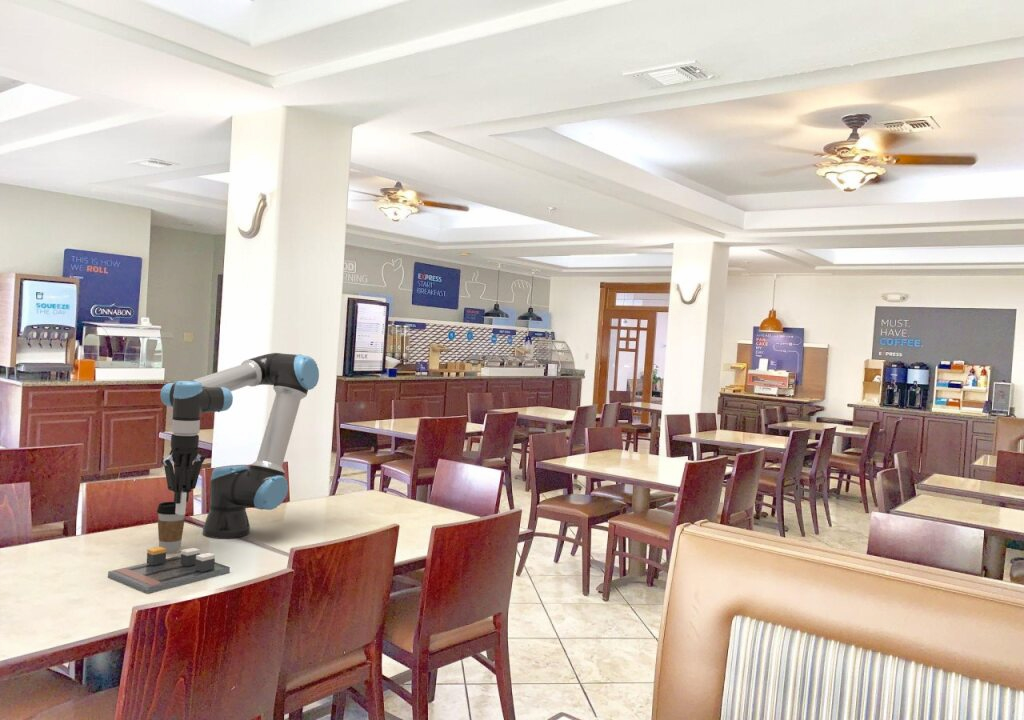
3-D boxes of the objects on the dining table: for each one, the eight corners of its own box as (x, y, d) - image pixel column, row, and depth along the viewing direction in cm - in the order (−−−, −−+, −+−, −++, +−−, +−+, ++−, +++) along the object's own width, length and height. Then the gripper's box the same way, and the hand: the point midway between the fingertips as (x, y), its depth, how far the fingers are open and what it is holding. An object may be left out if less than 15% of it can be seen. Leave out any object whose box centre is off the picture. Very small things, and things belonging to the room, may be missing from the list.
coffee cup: (173, 556, 232) (175, 507, 232) (148, 552, 234) (151, 504, 233) (190, 549, 240) (192, 501, 240) (166, 545, 242) (168, 498, 242)
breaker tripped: (159, 560, 221) (160, 546, 221) (165, 562, 220) (166, 548, 220) (146, 563, 218) (147, 549, 218) (152, 565, 216) (153, 551, 216)
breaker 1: (192, 561, 223) (193, 547, 222) (199, 563, 221) (199, 549, 221) (180, 564, 219) (181, 550, 219) (186, 566, 218) (187, 552, 217)
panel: (189, 558, 231) (189, 553, 231) (229, 572, 220) (229, 566, 220) (107, 577, 210) (108, 571, 210) (147, 593, 199) (148, 587, 199)
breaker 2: (207, 566, 219) (208, 552, 219) (214, 568, 217) (215, 554, 217) (195, 569, 215) (196, 555, 215) (201, 571, 214) (202, 557, 214)
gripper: (197, 431, 231) (192, 508, 232) (157, 433, 220) (152, 514, 221) (212, 434, 227) (207, 513, 228) (172, 436, 216) (167, 519, 217)
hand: (180, 513), depth 224 cm, fingers closed
